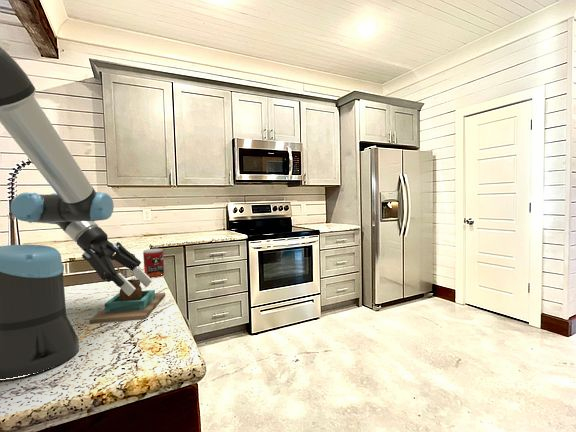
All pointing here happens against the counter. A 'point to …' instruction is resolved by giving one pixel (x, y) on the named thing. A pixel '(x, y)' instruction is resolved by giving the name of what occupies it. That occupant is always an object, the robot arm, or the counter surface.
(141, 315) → the cradle jig
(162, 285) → the counter surface
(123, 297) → the utensil holder
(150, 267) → the canned food
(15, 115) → the robot arm
